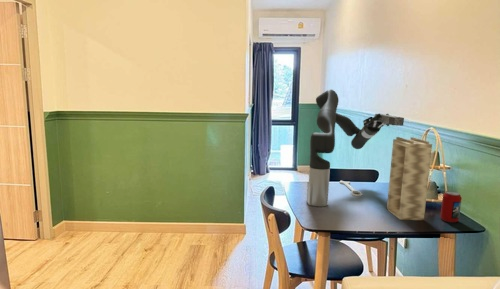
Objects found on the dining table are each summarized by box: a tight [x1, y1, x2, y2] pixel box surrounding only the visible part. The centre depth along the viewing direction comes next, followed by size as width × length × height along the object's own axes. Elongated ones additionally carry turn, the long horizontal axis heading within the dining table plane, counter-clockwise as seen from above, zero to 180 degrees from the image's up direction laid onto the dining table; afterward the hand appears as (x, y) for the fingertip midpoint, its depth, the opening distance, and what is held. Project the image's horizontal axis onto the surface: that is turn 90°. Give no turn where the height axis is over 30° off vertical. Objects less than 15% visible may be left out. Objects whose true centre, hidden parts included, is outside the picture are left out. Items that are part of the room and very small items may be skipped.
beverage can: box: [440, 190, 462, 223], centre depth 146 cm, size 7×7×12 cm
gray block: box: [374, 113, 405, 127], centre depth 167 cm, size 5×22×4 cm, turn 3°
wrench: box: [339, 180, 363, 197], centre depth 192 cm, size 28×2×6 cm
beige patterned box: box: [386, 136, 433, 221], centre depth 150 cm, size 10×13×33 cm
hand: (383, 115), depth 171 cm, fingers closed on gray block, 3 cm apart
